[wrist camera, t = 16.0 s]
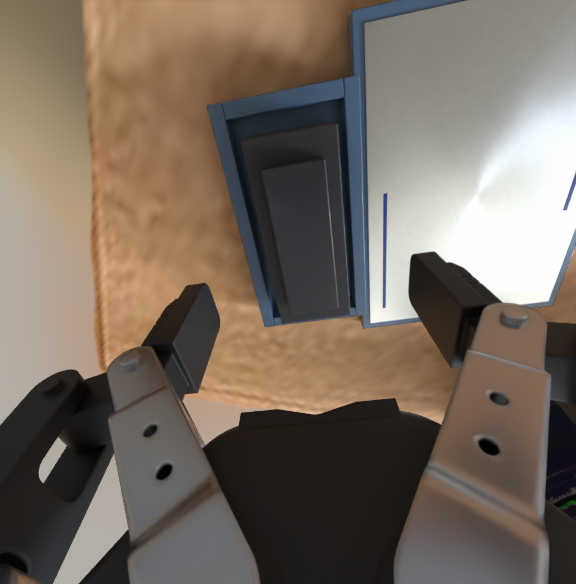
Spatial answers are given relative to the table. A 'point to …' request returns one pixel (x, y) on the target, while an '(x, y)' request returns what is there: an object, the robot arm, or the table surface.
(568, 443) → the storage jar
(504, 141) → the whiteboard
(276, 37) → the table surface
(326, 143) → the eraser
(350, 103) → the eraser holder
